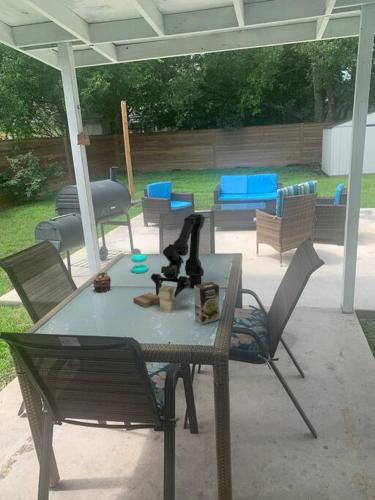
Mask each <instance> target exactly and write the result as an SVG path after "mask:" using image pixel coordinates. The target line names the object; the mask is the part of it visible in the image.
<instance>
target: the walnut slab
mask: <svg viewBox="0 0 375 500" xmlns="http://www.w3.org/2000/svg"><path fill="white" fill-rule="evenodd" d="M133 304H135V305H137V306H139V307H141V308H144V309H147V308H149V307H153V306H156V305H157V304H159V305H160V298H159V295H158V296H157V295H156V294H154V293H152V292H148V293H144V294H141V295H139V296H135V297H133Z"/></svg>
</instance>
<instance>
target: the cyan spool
mask: <svg viewBox="0 0 375 500" xmlns="http://www.w3.org/2000/svg"><path fill="white" fill-rule="evenodd" d="M147 258H148V257H147V255H146V254H140V253H139V254H134V255H132V256H131V257H130V260H131V262H132V263H134V264H135V263H136V264H135V265H134V266H132V268H131V272H132V273H134V274H143V273H146V272H148V270H149V269H148V266H147V265H146V264H141V263H144V262H146V261H147Z"/></svg>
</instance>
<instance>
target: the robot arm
mask: <svg viewBox="0 0 375 500" xmlns="http://www.w3.org/2000/svg"><path fill="white" fill-rule="evenodd" d="M183 221H184V222H183V225H182V228H181V231H180V234H179V236H178V239H176V240H175V241H174V243H173V244H168V246H166V247H165V248H164V249H163V250H162V254H163V256H164V257H165V259H166V260H167V261H168V262H169V263H168V265H166V266H164V265H162V266H161V270H160V273H152V274H151V276H150V279H151V281H152V282H153V283H154V284H155V293H156V294H155V295H157V296H159V288H161V287H162V286H163V282H169V283H177V284H176V287H175V290H174V299H175V298H177V297H178V296H179V294H180V293H181V292H183V290H185V289H187V288H189V287H190V288H191V289H192V288H193V289H194V285H199V284H203V283H202V277H204V273H205V270H204V269H203V267H202V262H201V259H200V258H199V255H200V254H199V251H200V236H201V230H202V229H203V227H204V224H205V216H204V215H203V214H202V213H190V214H189V215H188V216H186V217H184V219H183ZM189 239H190V244H189V245H190V246H189V245H188V243H189ZM188 252H189V257H188V259H186V260H185V266H184V270H185V275H180V274H181V269H182V268H181V267H182V265H183V264H184V260H183V257H185V256H187V254H188ZM161 274H162V275H163V276H162V275H161ZM179 275H180V276H179Z"/></svg>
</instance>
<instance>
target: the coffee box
mask: <svg viewBox="0 0 375 500" xmlns="http://www.w3.org/2000/svg"><path fill="white" fill-rule="evenodd" d="M193 289H194V291H193V293H194V316H195V317H194V320H195V321H197V322H198V323H199V324H200V325H202V324H203V325H206V323H207V324H209V323H208V322H210V323H213V322H212V321H214V322H216V321H215V320H218V319H220V320H221V317H220V316H221V315H220V285H219V284H217V283H215V282H212V281H210V282H205V283H202V284H199V285H194V288H193ZM218 321H219V320H218Z"/></svg>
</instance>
